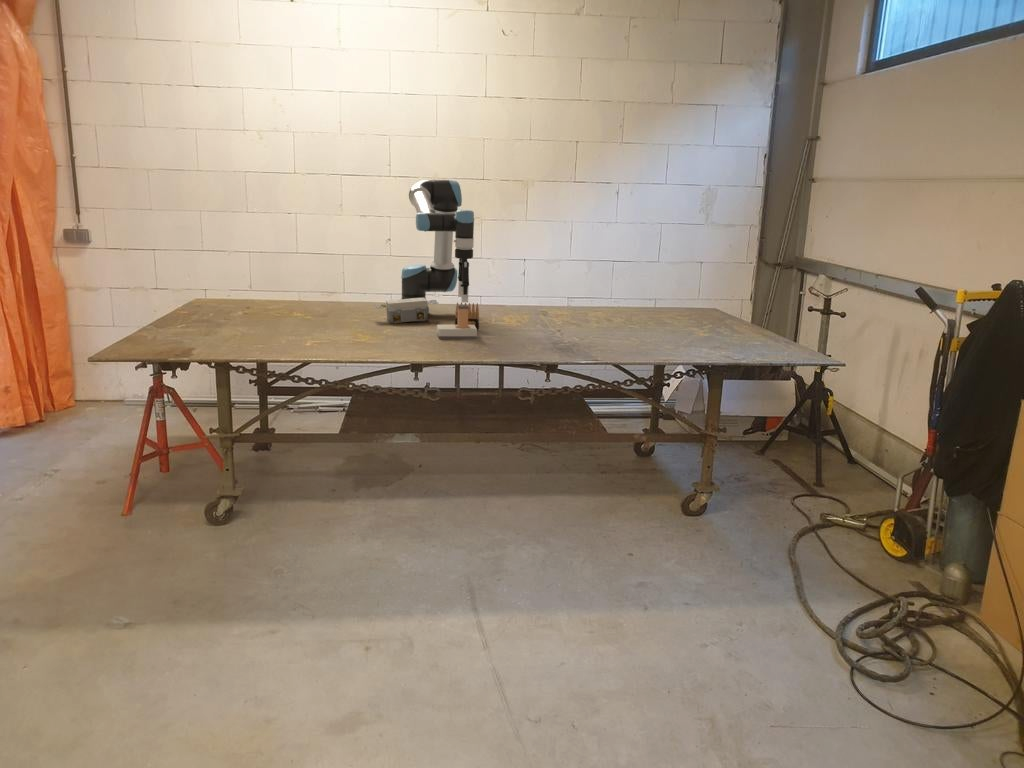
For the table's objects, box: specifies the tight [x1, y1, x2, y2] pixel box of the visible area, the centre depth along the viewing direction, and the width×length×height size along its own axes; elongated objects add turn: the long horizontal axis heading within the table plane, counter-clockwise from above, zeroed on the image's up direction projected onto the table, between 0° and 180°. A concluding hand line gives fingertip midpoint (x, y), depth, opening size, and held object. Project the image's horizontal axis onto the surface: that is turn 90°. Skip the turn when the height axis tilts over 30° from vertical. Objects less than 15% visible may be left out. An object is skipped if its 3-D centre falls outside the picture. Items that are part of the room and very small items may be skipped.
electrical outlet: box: [374, 298, 440, 324], centre depth 347 cm, size 12×28×10 cm, turn 107°
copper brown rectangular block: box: [457, 304, 469, 328], centre depth 317 cm, size 4×4×12 cm
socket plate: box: [436, 324, 478, 340], centre depth 318 cm, size 10×16×4 cm, turn 100°
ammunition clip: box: [454, 301, 480, 331], centre depth 332 cm, size 11×2×12 cm, turn 86°
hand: (463, 299), depth 315 cm, fingers open, 13 cm apart
